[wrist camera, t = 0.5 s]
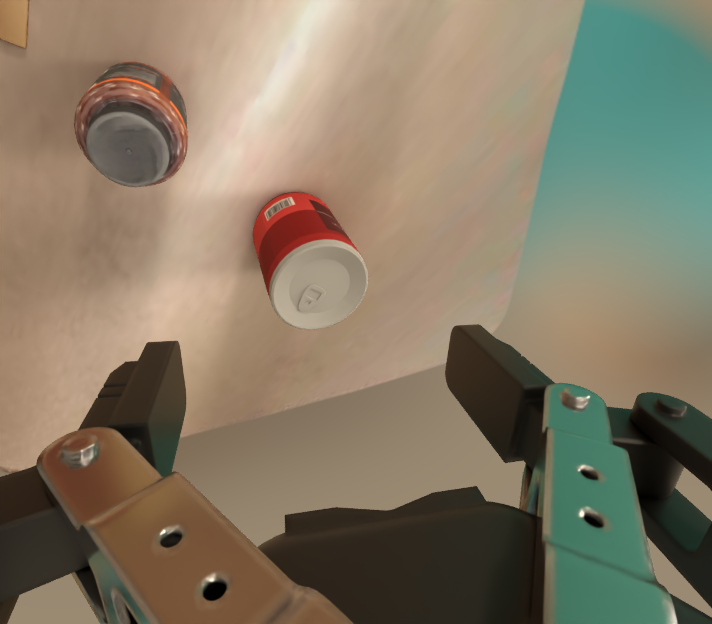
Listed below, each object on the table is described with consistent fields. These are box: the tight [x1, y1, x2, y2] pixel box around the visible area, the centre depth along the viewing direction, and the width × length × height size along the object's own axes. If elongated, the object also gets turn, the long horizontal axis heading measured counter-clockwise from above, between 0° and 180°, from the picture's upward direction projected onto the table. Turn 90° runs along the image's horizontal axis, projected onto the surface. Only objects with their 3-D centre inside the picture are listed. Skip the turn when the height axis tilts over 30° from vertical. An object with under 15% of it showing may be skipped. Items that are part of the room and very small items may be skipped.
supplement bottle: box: [74, 62, 188, 187], centre depth 27 cm, size 6×6×11 cm
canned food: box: [253, 192, 368, 330], centre depth 36 cm, size 8×8×11 cm
